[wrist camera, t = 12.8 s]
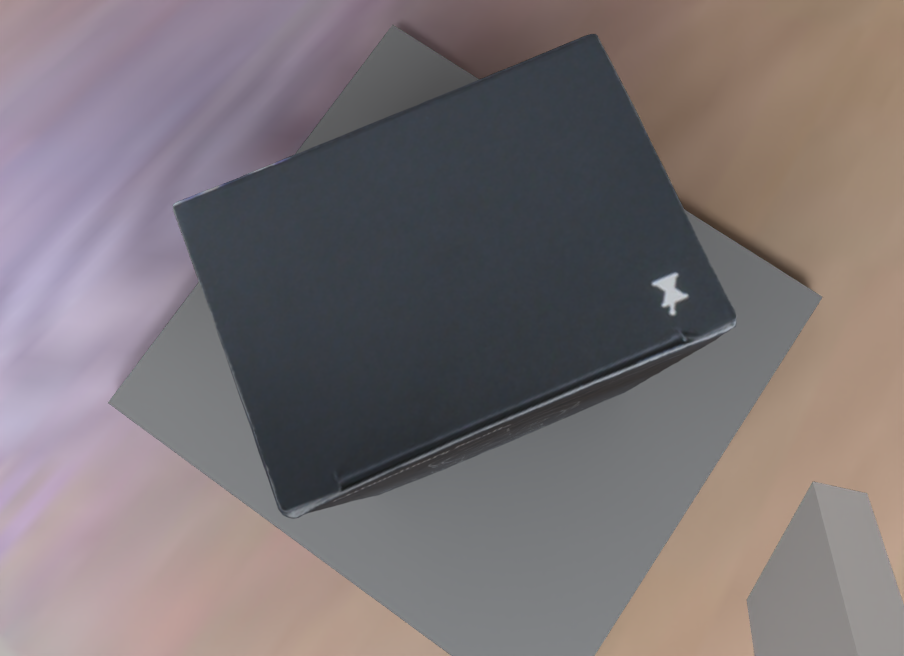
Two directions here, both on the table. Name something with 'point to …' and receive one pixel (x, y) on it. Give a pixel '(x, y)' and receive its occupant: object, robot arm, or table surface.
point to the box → (450, 278)
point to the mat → (495, 449)
